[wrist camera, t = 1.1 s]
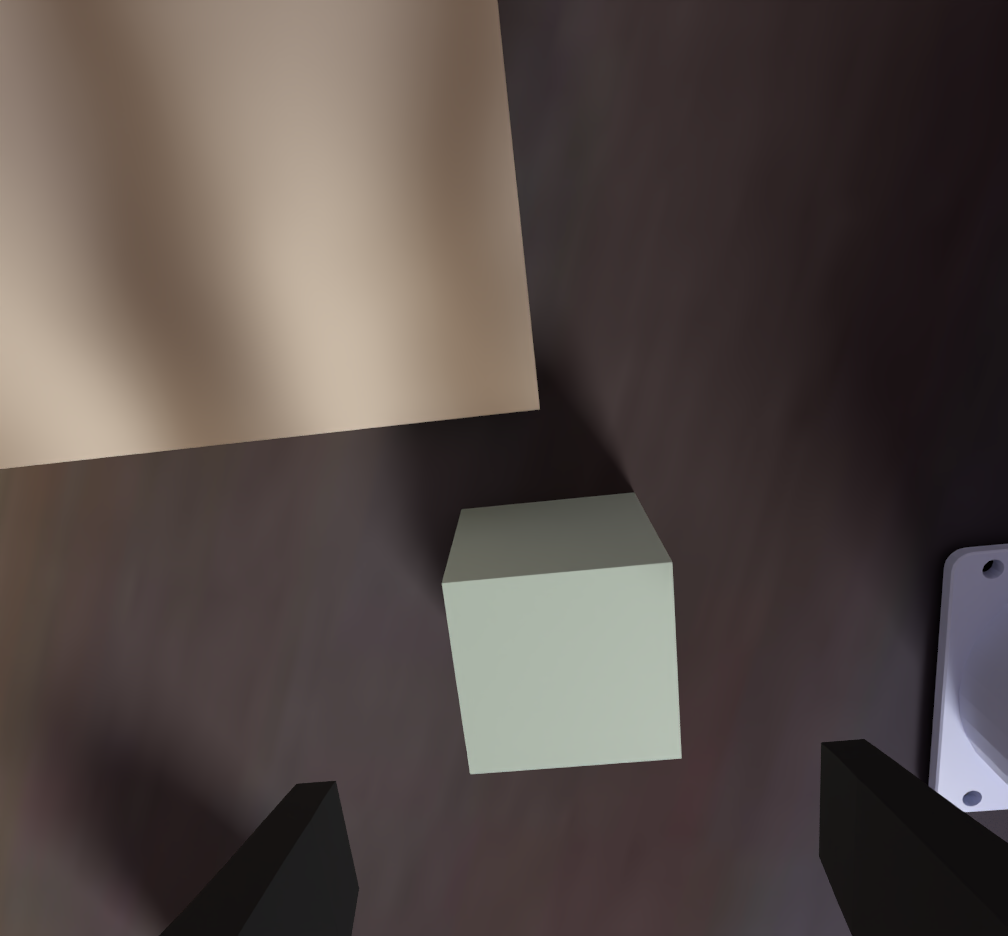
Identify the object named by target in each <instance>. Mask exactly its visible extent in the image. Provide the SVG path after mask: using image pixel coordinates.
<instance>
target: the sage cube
mask: <svg viewBox="0 0 1008 936" xmlns="http://www.w3.org/2000/svg"><path fill="white" fill-rule="evenodd" d="M442 589H443V595H444V602H445V609H446V615H447V622H448V629H449V635H450V642H451V649H452V656H453V662H454V669H455V676H456V682H457V689H458V696H459V702H460V709H461V716H462V723H463V729H464V736H465V743H466V749H467V756H468V763H469V769H470V774H480V773H494V772H507V771H520V770H534V769H547V768H560V767H573V766H587V765H600V764H613V763H627V762H640V761H653V760H666V759H680V758H681V738H680V717H679V695H678V674H677V653H676V631H675V610H674V589H673V567H672V561H671V559H670V557H669V555H668V553H667V552H666V550H665V548H664V546H663V544H662V542H661V541H660V539H659V537H658V535H657V533H656V531H655V530H654V528H653V526H652V524H651V522H650V520H649V519H648V517H647V515H646V513H645V511H644V509H643V508H642V506H641V504H640V502H639V500H638V498H637V497H636V495H635V493H634V492H633V493H623V494H613V495H602V496H592V497H582V498H572V499H562V500H551V501H541V502H531V503H521V504H510V505H500V506H490V507H480V508H470V509H461V513H460V517H459V521H458V524H457V528H456V532H455V536H454V539H453V543H452V547H451V550H450V554H449V558H448V562H447V565H446V569H445V573H444V577H443V580H442Z"/></svg>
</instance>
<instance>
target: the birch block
mask: <svg viewBox="0 0 1008 936" xmlns="http://www.w3.org/2000/svg"><path fill="white" fill-rule="evenodd" d="M538 409H540V405H539V396H538V386H537V376H536V367H535V357H534V347H533V338H532V328H531V319H530V309H529V299H528V290H527V280H526V271H525V261H524V251H523V242H522V232H521V223H520V213H519V203H518V194H517V184H516V175H515V165H514V155H513V146H512V136H511V127H510V117H509V107H508V98H507V88H506V79H505V69H504V59H503V50H502V40H501V31H500V21H499V11H498V2H497V0H0V469H4V468H13V467H22V466H31V465H40V464H49V463H58V462H67V461H76V460H85V459H94V458H103V457H112V456H121V455H131V454H140V453H149V452H158V451H167V450H176V449H185V448H194V447H203V446H212V445H221V444H230V443H239V442H248V441H257V440H266V439H276V438H285V437H294V436H303V435H312V434H321V433H330V432H339V431H348V430H357V429H366V428H375V427H384V426H393V425H402V424H411V423H421V422H430V421H439V420H448V419H457V418H466V417H475V416H484V415H493V414H502V413H511V412H520V411H529V410H538Z"/></svg>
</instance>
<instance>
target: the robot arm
mask: <svg viewBox="0 0 1008 936" xmlns="http://www.w3.org/2000/svg"><path fill="white" fill-rule="evenodd" d="M991 560H993V564H992V567H991V568H990V569H989V570H987V571H985V572H983V571H982V570H983V567H984V565H985V564H986V563H987V562H988V561H991ZM969 791H971V792H969ZM967 792H969V793H968V794H967V795H965V794H966V793H967ZM1002 809H1008V544H998V545H987V546H976V547H965V548H961V549H958V550H956V551H955V552H953V553H952V554H950V556H949V557H948V558H947V559H946V562H945V565H944V573H943V587H942V601H941V615H940V629H939V643H938V658H937V672H936V686H935V700H934V714H933V728H932V742H931V757H930V771H929V785H926V784H925V783H924V782H922V781H921V780H920V779H918V778H917V777H916V776H914V775H913V774H912V773H910V772H909V771H908V770H906V769H905V768H904V767H902V766H901V765H899V764H898V763H897V762H895V761H894V760H893V759H891V758H890V757H889V756H887V755H886V754H884V753H883V752H882V751H880V750H879V749H878V748H876V747H875V746H873V745H872V744H870V743H869V742H868V741H866V740H865V739H860V740H847V741H835V742H822V743H821V784H820V836H819V857H820V859H821V862H822V864H823V867H824V869H825V872H826V874H827V877H828V879H829V882H830V884H831V887H832V889H833V892H834V894H835V897H836V899H837V901H838V904H839V906H840V908H841V911H842V913H843V915H844V918H845V920H846V922H847V925H848V927H849V929H850V932H851V934H852V936H1008V843H1007V842H1005V841H1004V840H1002V839H1001V838H1000V837H998V836H997V835H995V834H994V833H993V832H991V831H990V830H988V829H987V828H986V827H984V826H983V825H981V824H980V823H979V822H977V821H976V820H974V819H973V818H972V817H970V816H969V815H967V814H966V813H965V812H974V811H988V810H1002ZM358 891H359V886H358V882H357V877H356V872H355V868H354V863H353V858H352V854H351V849H350V845H349V840H348V835H347V831H346V826H345V821H344V817H343V812H342V807H341V803H340V798H339V793H338V789H337V784H336V781H327V782H315V783H302V784H296V785H295V786H294V787H293V788H292V790H291V791H290V792H289V793H288V794H287V795H286V796H285V797H284V798H283V800H282V801H281V802H280V803H279V804H278V805H277V806H276V807H275V809H274V810H273V811H272V812H271V813H270V814H269V815H268V817H267V818H266V819H265V820H264V821H263V822H262V823H261V825H260V826H259V827H258V828H257V829H256V830H255V831H254V833H253V834H252V835H251V836H250V837H249V838H248V839H247V841H246V842H245V843H244V844H243V845H242V846H241V847H240V848H239V850H238V851H237V852H236V853H235V854H234V855H233V856H232V858H231V859H230V860H229V861H228V862H227V863H226V864H225V866H224V867H223V868H222V869H221V870H220V871H219V872H218V873H217V874H216V875H215V877H214V878H213V879H212V880H211V881H210V882H209V883H208V884H207V885H206V886H205V888H204V889H203V890H202V891H201V892H200V893H199V894H198V895H197V896H196V898H195V899H194V900H193V901H192V902H191V903H190V904H189V905H188V906H187V907H186V909H185V910H184V911H183V912H182V913H181V914H180V915H179V916H178V917H177V918H176V919H175V920H174V921H173V922H172V923H171V924H170V925H169V926H168V927H167V928H166V929H165V930H164V931H163V932H162V933H161V934H160V935H159V936H351V934H352V928H353V922H354V916H355V909H356V903H357V897H358Z"/></svg>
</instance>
